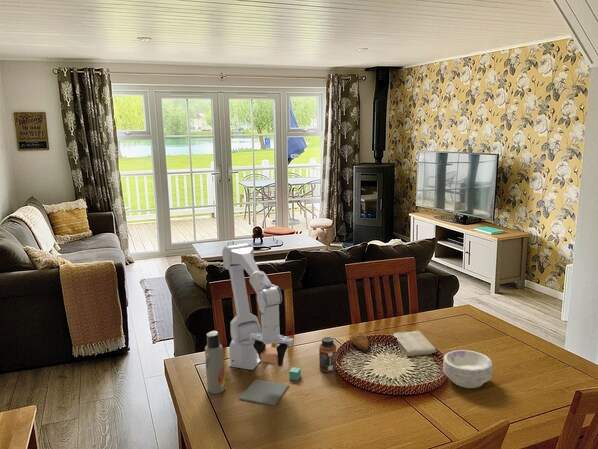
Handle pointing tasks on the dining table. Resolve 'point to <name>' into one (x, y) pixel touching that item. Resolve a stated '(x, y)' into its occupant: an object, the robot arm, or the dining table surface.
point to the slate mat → (264, 392)
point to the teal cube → (295, 373)
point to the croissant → (360, 341)
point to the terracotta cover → (270, 359)
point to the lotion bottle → (214, 363)
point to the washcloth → (414, 343)
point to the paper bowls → (467, 368)
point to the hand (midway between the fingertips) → (272, 363)
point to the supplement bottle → (327, 355)
